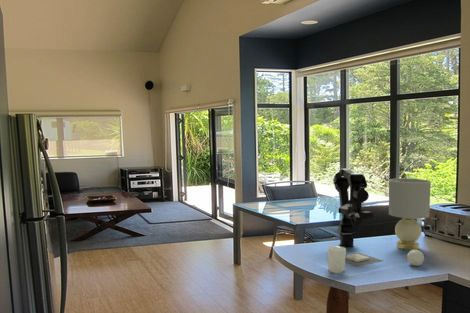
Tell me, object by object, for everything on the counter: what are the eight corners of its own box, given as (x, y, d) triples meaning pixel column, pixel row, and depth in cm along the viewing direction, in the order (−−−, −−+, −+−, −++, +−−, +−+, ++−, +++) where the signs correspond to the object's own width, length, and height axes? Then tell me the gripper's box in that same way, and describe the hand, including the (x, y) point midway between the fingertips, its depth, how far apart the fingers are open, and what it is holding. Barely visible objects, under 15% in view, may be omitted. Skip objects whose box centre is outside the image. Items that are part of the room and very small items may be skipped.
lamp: (383, 248, 249) (385, 180, 246) (392, 241, 266) (394, 177, 264) (424, 254, 238) (426, 183, 236) (431, 246, 255) (433, 179, 253)
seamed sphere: (422, 263, 222) (422, 248, 222) (425, 268, 215) (426, 252, 215) (399, 262, 224) (399, 247, 224) (402, 267, 217) (402, 251, 216)
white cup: (335, 274, 205) (335, 251, 205) (323, 269, 212) (323, 247, 211) (349, 272, 209) (349, 249, 208) (337, 267, 216) (338, 245, 215)
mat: (331, 259, 229) (331, 257, 229) (359, 254, 238) (359, 252, 238) (356, 267, 215) (356, 266, 215) (384, 262, 224) (384, 260, 224)
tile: (344, 255, 228) (357, 259, 222) (357, 253, 232) (369, 257, 226) (344, 258, 228) (357, 262, 222) (357, 256, 233) (369, 260, 226)
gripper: (330, 197, 241) (329, 227, 243) (357, 202, 225) (356, 235, 226) (347, 195, 247) (346, 225, 248) (374, 200, 231) (373, 232, 232)
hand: (355, 229), depth 239 cm, fingers closed
